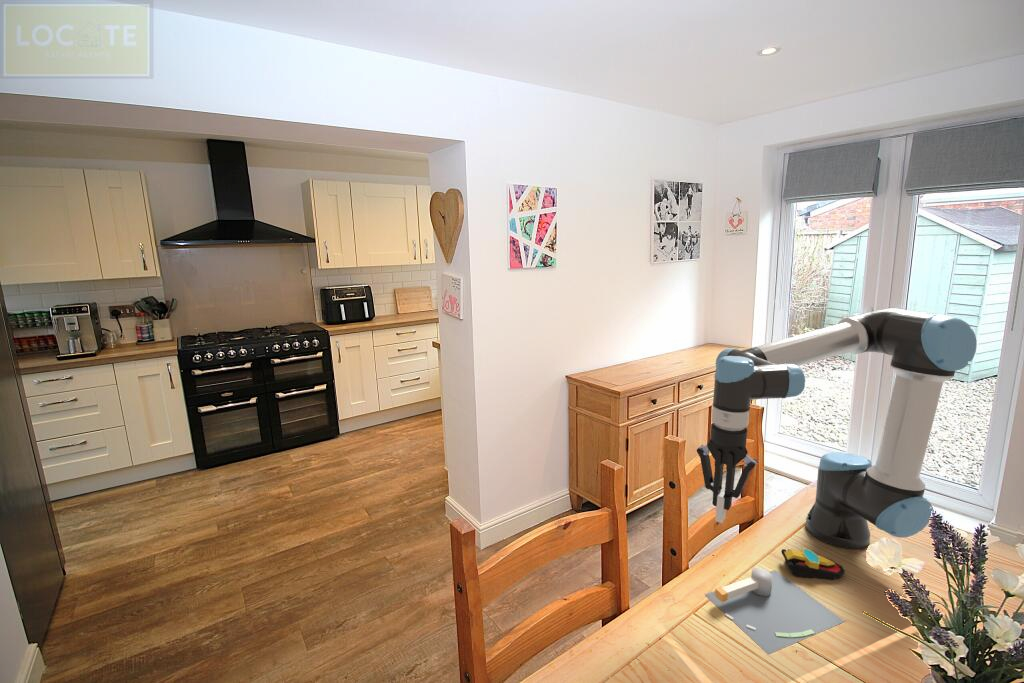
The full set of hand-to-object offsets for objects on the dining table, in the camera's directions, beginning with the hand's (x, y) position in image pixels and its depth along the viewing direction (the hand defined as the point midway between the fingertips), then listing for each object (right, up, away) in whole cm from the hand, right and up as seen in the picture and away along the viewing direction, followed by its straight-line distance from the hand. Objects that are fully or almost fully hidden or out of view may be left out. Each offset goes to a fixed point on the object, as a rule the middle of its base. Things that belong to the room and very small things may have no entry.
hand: (720, 519), depth 114 cm
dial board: (+10, -20, -4) cm, 22 cm away
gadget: (+26, -17, +7) cm, 32 cm away
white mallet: (+5, -18, -1) cm, 18 cm away
